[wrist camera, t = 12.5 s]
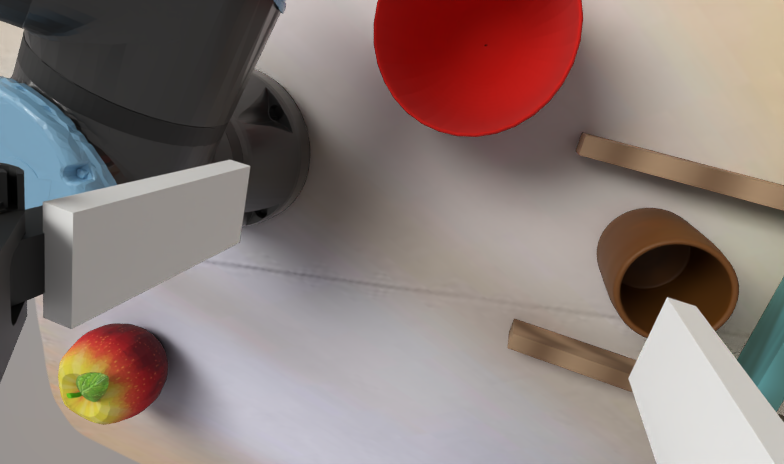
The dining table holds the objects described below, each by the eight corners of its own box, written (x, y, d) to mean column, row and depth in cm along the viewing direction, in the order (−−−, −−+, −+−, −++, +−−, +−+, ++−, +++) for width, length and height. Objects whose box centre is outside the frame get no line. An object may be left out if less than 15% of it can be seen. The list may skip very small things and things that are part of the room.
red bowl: (572, -120, 35) (586, -196, 26) (570, 121, 39) (582, 130, 30) (398, -85, 39) (356, -140, 29) (414, 132, 43) (381, 143, 34)
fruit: (93, 332, 60) (13, 376, 51) (147, 296, 56) (72, 336, 47) (142, 403, 61) (73, 458, 52) (200, 372, 57) (135, 426, 48)
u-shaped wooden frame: (509, 332, 46) (506, 353, 42) (582, 132, 39) (587, 136, 36) (737, 411, 42) (757, 442, 38) (858, 205, 36) (896, 218, 32)
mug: (706, 335, 41) (753, 401, 32) (609, 343, 43) (627, 406, 35) (691, 197, 38) (737, 228, 30) (588, 213, 41) (603, 247, 32)
